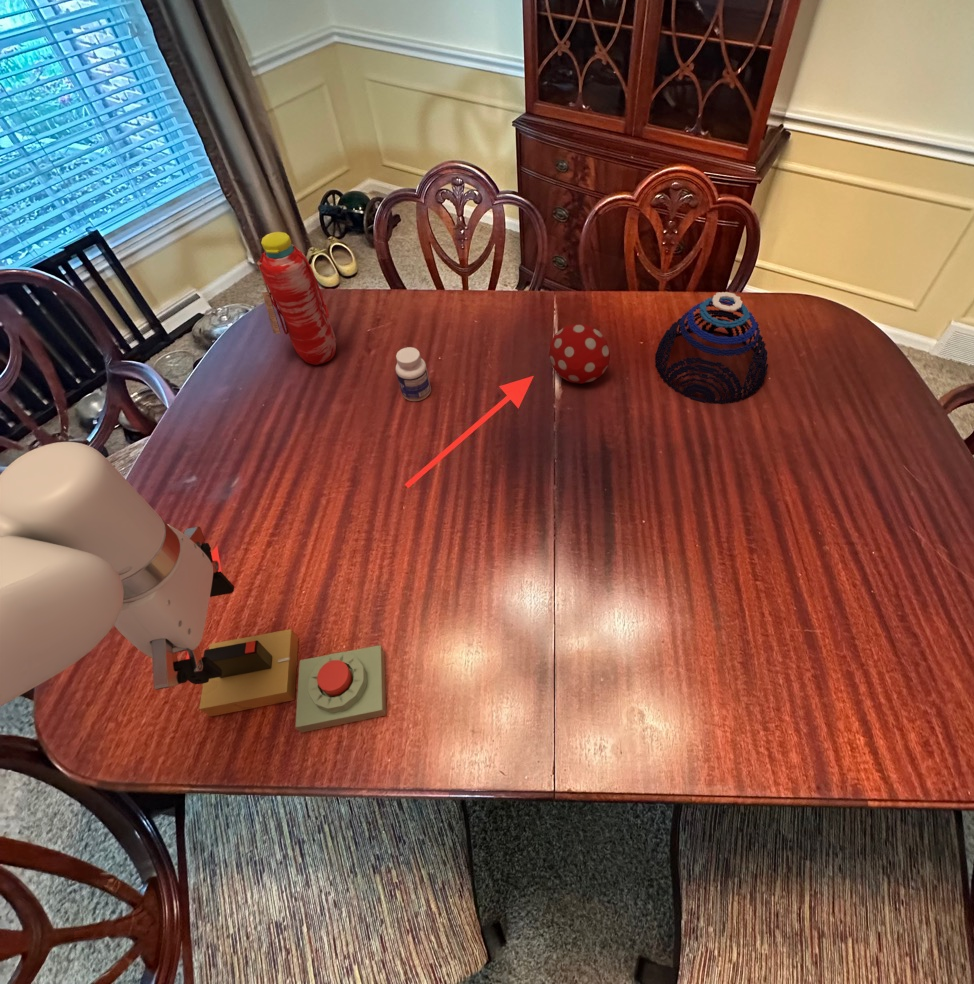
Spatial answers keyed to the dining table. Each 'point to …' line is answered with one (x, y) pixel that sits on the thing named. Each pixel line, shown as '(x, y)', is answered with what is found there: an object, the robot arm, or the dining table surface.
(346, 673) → the release button
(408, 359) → the pill bottle
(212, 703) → the plate
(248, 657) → the block
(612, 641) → the dining table surface
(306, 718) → the button block
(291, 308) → the water bottle
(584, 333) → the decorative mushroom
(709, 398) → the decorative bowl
